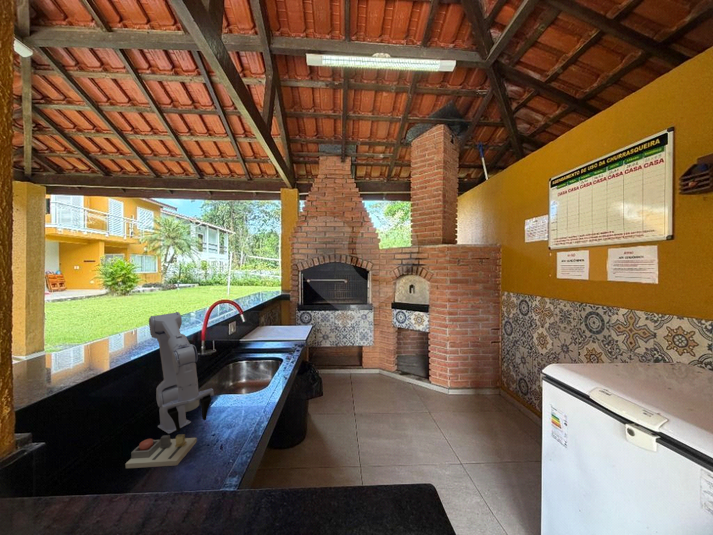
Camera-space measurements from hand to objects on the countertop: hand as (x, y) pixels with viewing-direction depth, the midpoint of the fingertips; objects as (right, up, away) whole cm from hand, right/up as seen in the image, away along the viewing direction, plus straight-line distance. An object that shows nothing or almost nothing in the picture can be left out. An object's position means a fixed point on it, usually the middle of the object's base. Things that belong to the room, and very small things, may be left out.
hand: (191, 424), depth 91 cm
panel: (-10, -10, +1) cm, 14 cm away
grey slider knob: (-10, -8, +2) cm, 13 cm away
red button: (-15, -8, 0) cm, 17 cm away
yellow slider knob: (-5, -8, +2) cm, 10 cm away
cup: (-19, -10, +30) cm, 37 cm away
